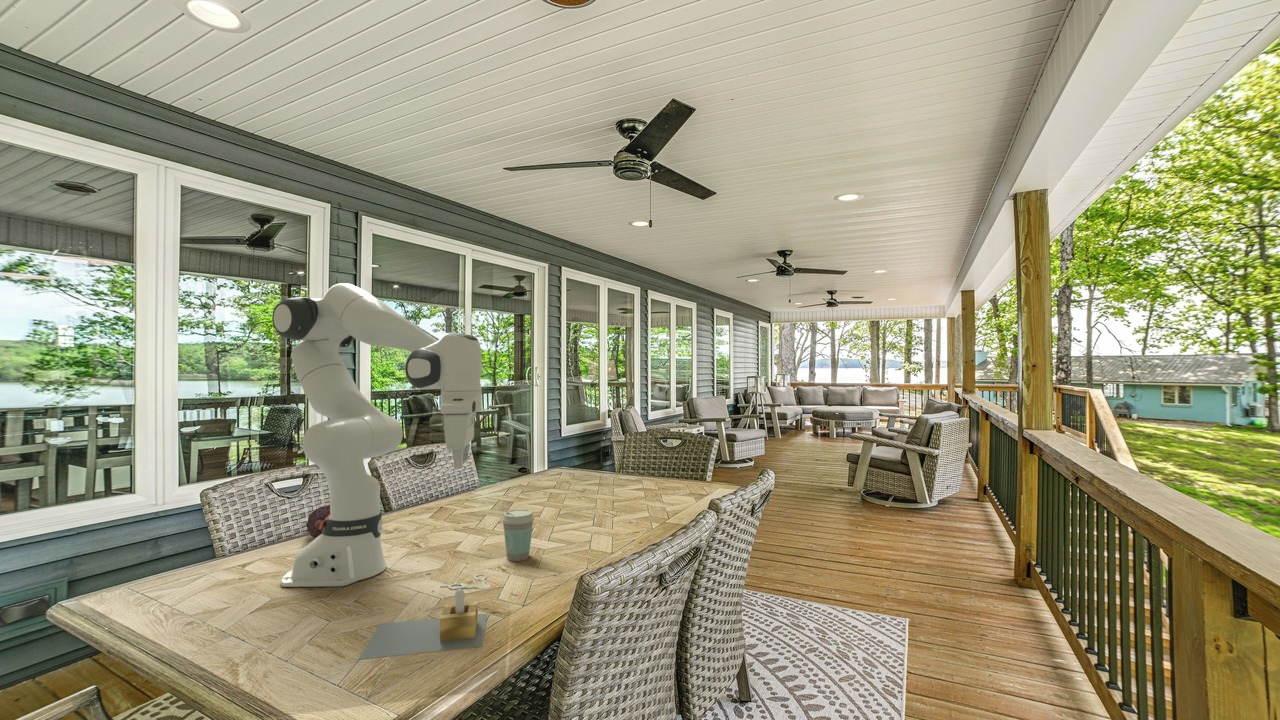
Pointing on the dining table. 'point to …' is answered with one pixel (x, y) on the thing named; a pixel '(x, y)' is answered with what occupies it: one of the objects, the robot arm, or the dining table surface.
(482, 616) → the grey peg stand
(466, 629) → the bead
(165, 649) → the dining table surface
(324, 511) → the pine cone
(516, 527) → the coffee cup
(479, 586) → the scissors
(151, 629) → the dining table surface
